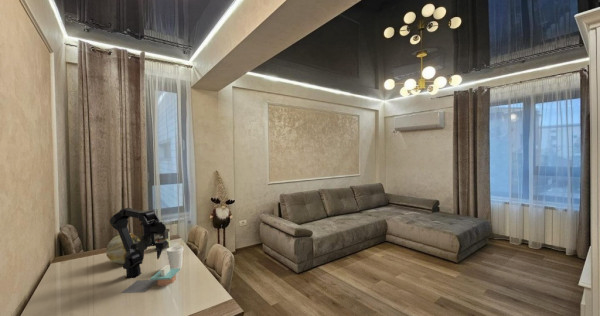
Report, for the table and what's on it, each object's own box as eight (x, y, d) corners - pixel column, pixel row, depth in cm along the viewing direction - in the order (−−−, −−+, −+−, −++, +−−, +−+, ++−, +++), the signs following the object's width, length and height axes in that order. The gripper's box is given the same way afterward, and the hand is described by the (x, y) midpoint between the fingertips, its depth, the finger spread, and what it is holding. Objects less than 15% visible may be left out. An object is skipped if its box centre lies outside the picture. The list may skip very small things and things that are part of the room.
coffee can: (164, 251, 190) (163, 232, 190) (152, 250, 192) (151, 232, 192) (173, 246, 200) (172, 228, 200) (162, 245, 202) (161, 228, 202)
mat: (120, 294, 131) (120, 293, 131) (137, 281, 144) (137, 280, 144) (145, 293, 131) (145, 292, 131) (159, 280, 144) (159, 279, 144)
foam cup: (177, 272, 153) (176, 251, 153) (164, 271, 155) (163, 251, 155) (187, 265, 163) (186, 245, 162) (175, 265, 164) (173, 245, 164)
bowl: (153, 286, 137) (153, 278, 137) (162, 278, 146) (162, 271, 146) (170, 286, 137) (169, 278, 137) (178, 278, 146) (177, 270, 146)
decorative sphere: (142, 263, 170) (141, 234, 169) (105, 272, 158) (104, 240, 158) (141, 254, 186) (140, 227, 185) (108, 261, 175) (106, 233, 174)
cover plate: (150, 280, 136) (149, 272, 136) (161, 270, 147) (161, 263, 147) (170, 279, 136) (169, 271, 136) (180, 269, 147) (179, 262, 147)
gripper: (123, 238, 137) (124, 266, 138) (156, 236, 137) (158, 264, 137) (136, 231, 148) (137, 257, 149) (167, 230, 148) (169, 256, 149)
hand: (150, 259), depth 146 cm, fingers open, 9 cm apart
